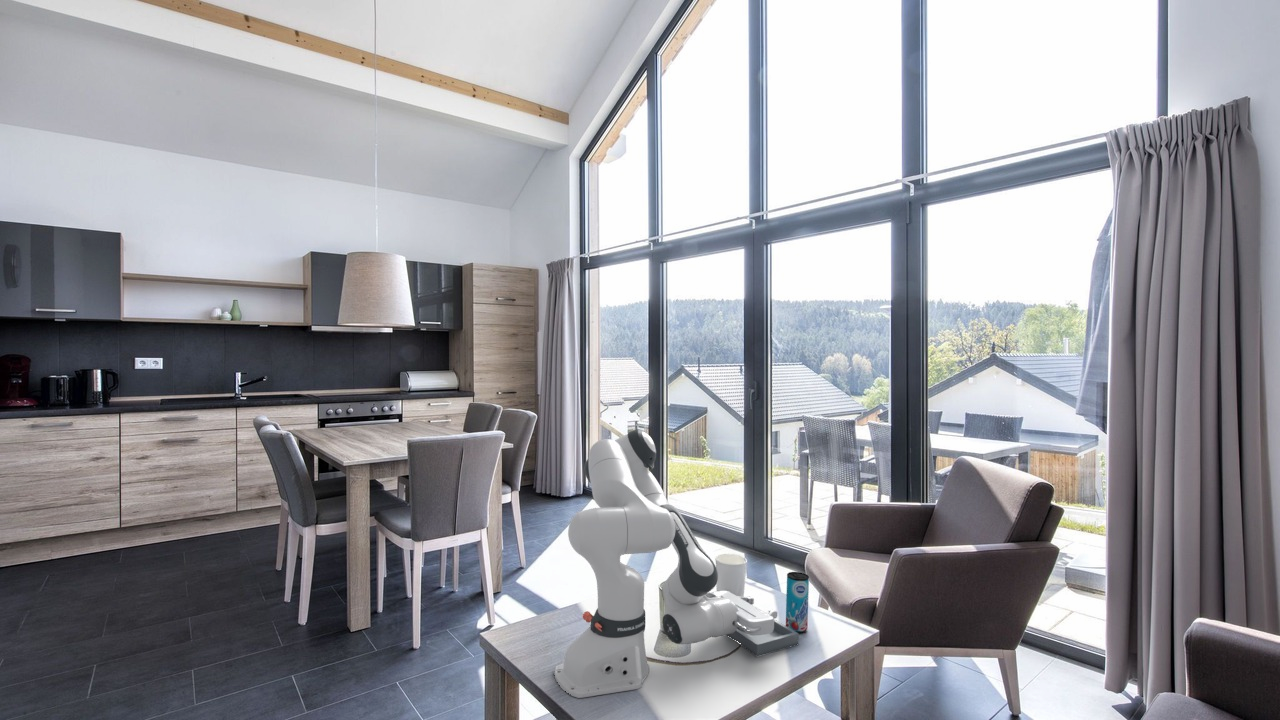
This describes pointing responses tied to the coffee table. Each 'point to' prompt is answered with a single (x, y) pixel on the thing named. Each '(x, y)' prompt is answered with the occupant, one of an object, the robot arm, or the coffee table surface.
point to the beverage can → (797, 601)
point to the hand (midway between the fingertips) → (763, 606)
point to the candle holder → (731, 573)
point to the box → (767, 639)
